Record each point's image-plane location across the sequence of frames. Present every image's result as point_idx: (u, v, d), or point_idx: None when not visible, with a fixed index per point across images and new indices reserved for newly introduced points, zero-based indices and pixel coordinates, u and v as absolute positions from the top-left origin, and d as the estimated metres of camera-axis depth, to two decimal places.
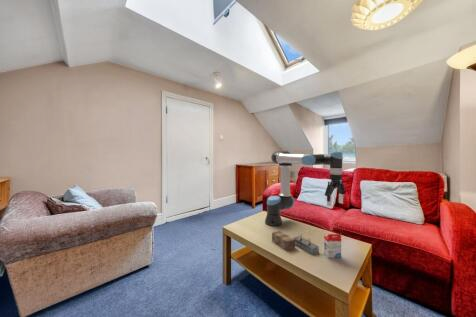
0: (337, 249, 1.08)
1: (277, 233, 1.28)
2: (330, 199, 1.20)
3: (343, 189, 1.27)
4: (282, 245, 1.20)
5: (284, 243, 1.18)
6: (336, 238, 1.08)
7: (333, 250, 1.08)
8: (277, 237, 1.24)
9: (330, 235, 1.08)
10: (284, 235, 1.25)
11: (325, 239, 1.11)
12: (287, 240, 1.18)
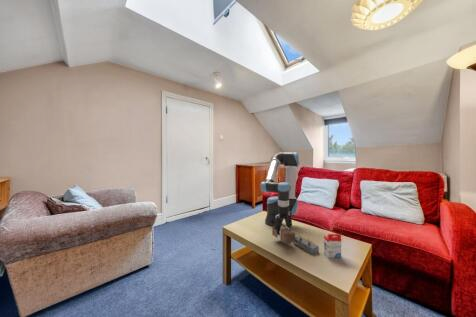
0: (337, 249, 1.08)
1: None
2: (279, 233, 1.22)
3: (290, 222, 1.26)
4: (282, 239, 1.20)
5: (284, 237, 1.19)
6: (336, 238, 1.08)
7: (333, 250, 1.08)
8: None
9: (330, 235, 1.08)
10: (284, 229, 1.25)
11: (325, 239, 1.11)
12: (287, 234, 1.18)
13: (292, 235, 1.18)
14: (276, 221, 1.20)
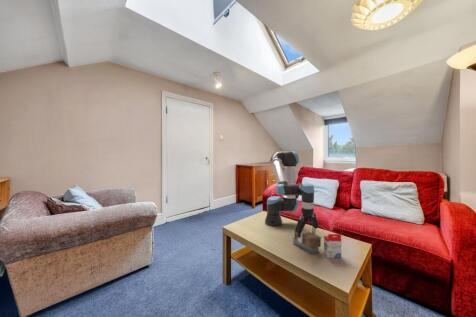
0: (337, 249, 1.08)
1: None
2: (301, 235, 1.14)
3: (316, 223, 1.21)
4: (307, 243, 1.14)
5: (309, 241, 1.13)
6: (336, 238, 1.08)
7: (333, 250, 1.08)
8: None
9: (330, 235, 1.08)
10: (308, 233, 1.19)
11: (325, 239, 1.11)
12: (313, 238, 1.12)
13: (318, 239, 1.13)
14: (299, 222, 1.14)
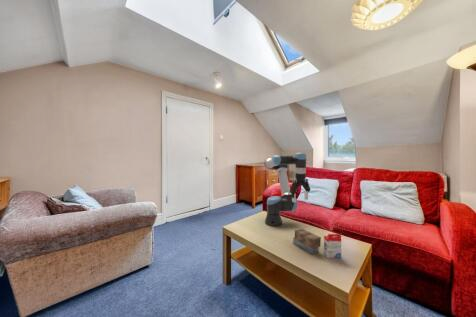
0: (337, 249, 1.08)
1: (300, 231, 1.22)
2: (294, 196, 1.32)
3: (308, 187, 1.40)
4: (307, 243, 1.14)
5: (309, 241, 1.13)
6: (336, 238, 1.08)
7: (333, 250, 1.08)
8: (301, 235, 1.19)
9: (330, 235, 1.08)
10: (308, 233, 1.19)
11: (325, 239, 1.11)
12: (313, 238, 1.12)
13: (318, 239, 1.13)
14: (293, 185, 1.33)
